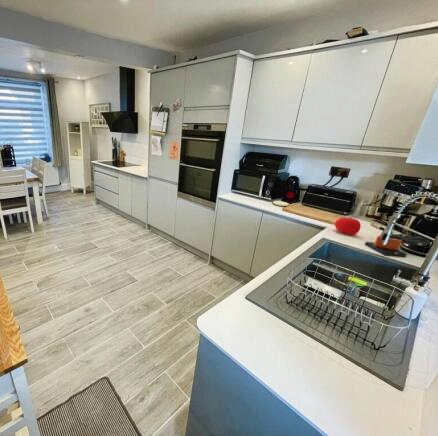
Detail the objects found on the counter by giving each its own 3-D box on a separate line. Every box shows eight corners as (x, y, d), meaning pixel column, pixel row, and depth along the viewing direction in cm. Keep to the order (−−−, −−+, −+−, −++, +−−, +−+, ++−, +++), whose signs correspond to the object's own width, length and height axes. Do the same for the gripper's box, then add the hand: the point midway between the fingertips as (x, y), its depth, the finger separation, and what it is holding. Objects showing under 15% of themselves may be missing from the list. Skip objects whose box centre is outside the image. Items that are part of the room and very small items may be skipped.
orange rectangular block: (396, 249, 142) (401, 239, 140) (397, 250, 141) (402, 240, 139) (373, 244, 146) (377, 235, 144) (374, 246, 145) (378, 236, 142)
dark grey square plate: (409, 257, 137) (410, 254, 136) (382, 255, 137) (384, 252, 136) (385, 245, 151) (386, 242, 150) (361, 243, 151) (362, 240, 151)
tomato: (351, 238, 159) (358, 222, 155) (329, 230, 171) (335, 215, 167) (361, 235, 165) (367, 220, 161) (339, 228, 176) (344, 213, 172)
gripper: (432, 251, 139) (391, 248, 140) (409, 241, 152) (372, 238, 152) (438, 239, 137) (396, 236, 137) (415, 230, 149) (377, 227, 149)
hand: (384, 237), depth 144 cm, fingers closed
